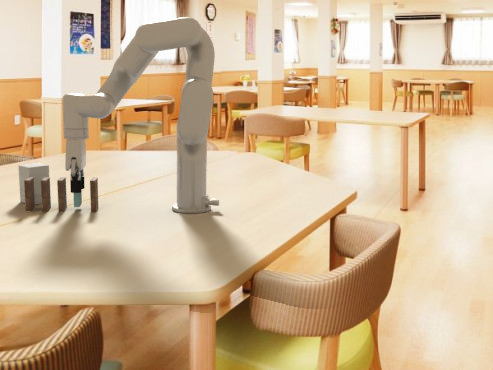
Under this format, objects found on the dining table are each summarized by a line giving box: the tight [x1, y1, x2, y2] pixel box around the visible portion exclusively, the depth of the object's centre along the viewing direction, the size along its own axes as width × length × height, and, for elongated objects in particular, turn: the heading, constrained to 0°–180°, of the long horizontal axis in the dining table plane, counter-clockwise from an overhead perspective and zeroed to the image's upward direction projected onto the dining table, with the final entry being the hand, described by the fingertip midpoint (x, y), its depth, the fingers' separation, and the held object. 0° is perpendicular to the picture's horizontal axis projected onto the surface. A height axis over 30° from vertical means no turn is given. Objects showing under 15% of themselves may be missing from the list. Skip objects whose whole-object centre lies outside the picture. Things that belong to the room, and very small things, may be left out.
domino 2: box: [41, 176, 52, 213], centre depth 191 cm, size 2×5×10 cm, turn 5°
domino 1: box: [24, 177, 36, 212], centre depth 190 cm, size 2×5×10 cm, turn 6°
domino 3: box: [56, 177, 68, 213], centre depth 191 cm, size 2×5×10 cm, turn 6°
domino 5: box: [89, 177, 99, 213], centre depth 192 cm, size 2×5×10 cm, turn 5°
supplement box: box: [17, 162, 50, 206], centre depth 200 cm, size 7×7×13 cm
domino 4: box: [73, 173, 83, 208], centre depth 191 cm, size 2×5×10 cm, turn 6°
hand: (77, 190), depth 191 cm, fingers closed on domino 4, 4 cm apart
